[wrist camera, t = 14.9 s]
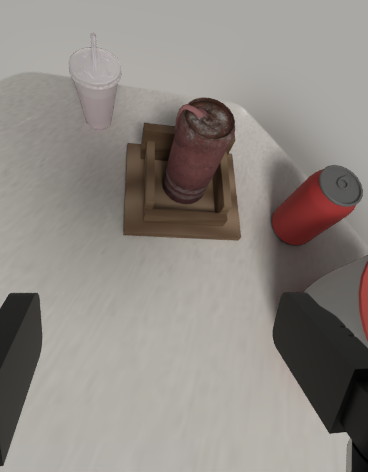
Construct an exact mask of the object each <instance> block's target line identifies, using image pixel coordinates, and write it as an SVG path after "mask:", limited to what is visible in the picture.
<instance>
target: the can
mask: <svg viewBox="0 0 368 472" xmlns="http://www.w3.org/2000/svg"><path fill="white" fill-rule="evenodd" d="M175 130H176V132H175V136H174V140H173V144H172V148H171V151H170V155H169V159H168V163H167V167H166V171H165V174H164V179H163V189H164V191H165V193H166V194H167V195H168V197H169V198H170V199H172V200H173V201H175V202H177V203H181V204H192V203H195V202H197V201H198V200H200V199H201V198H202V196H203V195H204V193H205V191H206V189H207V187H208V185H209V183H210V181H211V179H212V177H213V175H214V173H215V171H216V170H217V168H218V166H219V164H220V162H221V160H222V158H223V156H224V154H225V152H226V150H227V148H228V146H229V144H230V142H231V140H232V138H233V136H234V133H235V120H234V116H233V114H232V112H231V111H230V109H229V108H228V107H226V106H225V105H224V104H223V103H221V102H219V101H218V100H215V99H211V98H198V99H194V100H193V101H191V102H189V103H188V104H186V105H183V106H182V107H181V108H180V109H179V112H178V115H177V118H176V125H175Z"/></svg>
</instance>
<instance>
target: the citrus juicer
mask: <svg viewBox="0 0 368 472" xmlns="http://www.w3.org/2000/svg"><path fill="white" fill-rule="evenodd" d="M304 292H305V293H308V294H309V295H310V296H311V297H312V298H313V299H314V300H315V301H316V302H317V303H318V304H319V305H320V306H321V307H323V308H324V309H326V310H328V311H329V312H331V313H332V314H334V315H336V316H337V317H338V318H339V319H340V320H341V321H342V322H343V324H344V325H345V326H346V328H348V329H349V330H350V331H351V332H352V333H353V334H354V336H355V337H357V338H358V339H359V340H360V341H361V342H362V343H363V344H364V345H365V346H366V347H367V348H368V255H367V256H365V257H362V258H360V259H358V260H356V261H353V262H351V263H349V264H347V265H345V266H342V267H340V268H338V269H336V270H333V271H331V272H329V273H327V274H326V275H324V276H322V277H321V278H319V279H318V280H317V281H315V282H314V283H313V284H312V285H310V286H309V287H308V288H307V289H306V290H305V291H304Z"/></svg>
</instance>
